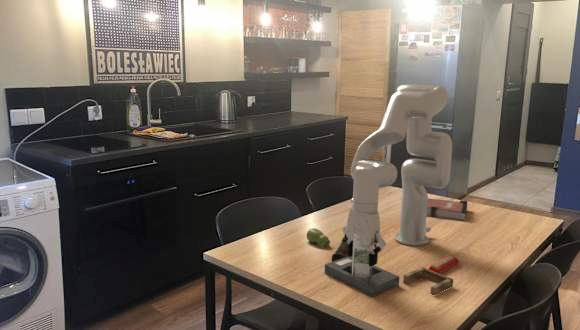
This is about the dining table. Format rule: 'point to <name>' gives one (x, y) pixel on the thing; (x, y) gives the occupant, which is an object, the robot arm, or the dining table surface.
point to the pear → (318, 237)
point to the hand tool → (341, 250)
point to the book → (447, 209)
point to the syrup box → (360, 259)
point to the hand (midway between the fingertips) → (362, 260)
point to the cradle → (423, 272)
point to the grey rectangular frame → (370, 285)
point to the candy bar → (444, 264)
